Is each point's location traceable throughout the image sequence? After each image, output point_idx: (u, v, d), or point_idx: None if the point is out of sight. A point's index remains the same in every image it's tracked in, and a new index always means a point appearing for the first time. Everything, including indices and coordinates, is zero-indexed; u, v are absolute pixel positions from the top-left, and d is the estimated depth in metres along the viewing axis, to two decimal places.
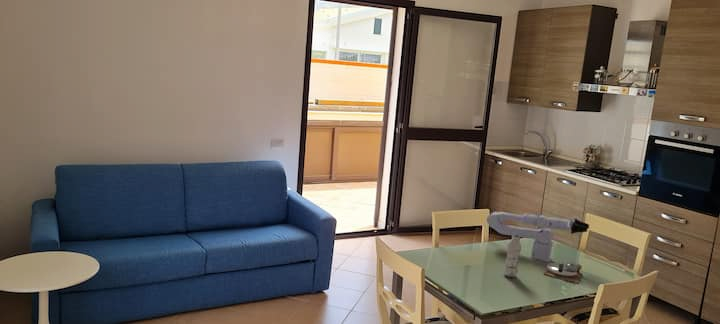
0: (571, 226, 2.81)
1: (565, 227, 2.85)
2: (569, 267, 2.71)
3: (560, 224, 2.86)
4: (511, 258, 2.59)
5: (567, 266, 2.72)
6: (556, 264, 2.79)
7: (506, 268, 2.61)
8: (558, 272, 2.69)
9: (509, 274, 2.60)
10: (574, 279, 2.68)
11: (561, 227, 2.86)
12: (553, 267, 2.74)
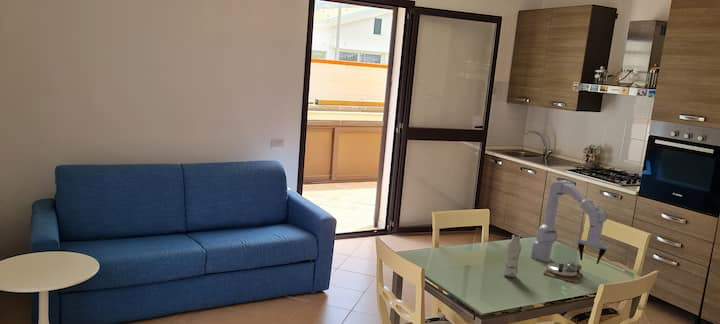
0: (580, 244, 2.69)
1: None
2: (569, 267, 2.71)
3: (588, 234, 2.67)
4: (511, 258, 2.59)
5: (567, 266, 2.72)
6: (556, 264, 2.79)
7: (506, 268, 2.61)
8: (558, 272, 2.69)
9: (509, 274, 2.60)
10: (574, 279, 2.68)
11: None
12: (553, 267, 2.74)
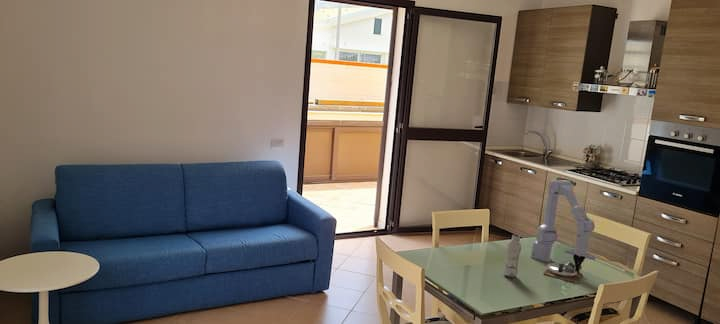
0: (575, 255, 2.70)
1: None
2: (567, 266, 2.71)
3: None
4: (511, 258, 2.59)
5: (565, 265, 2.72)
6: (556, 264, 2.79)
7: (506, 268, 2.61)
8: (558, 272, 2.69)
9: (509, 274, 2.60)
10: (574, 279, 2.68)
11: None
12: (553, 267, 2.74)
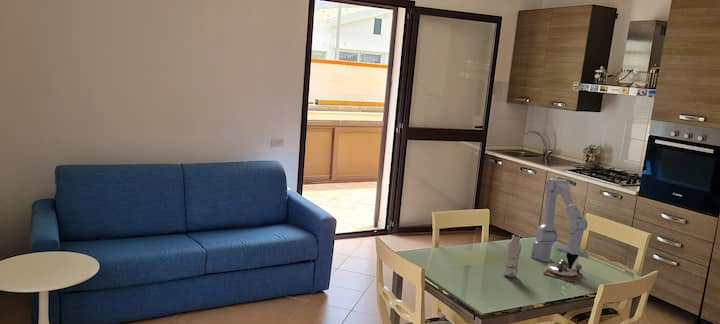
0: (568, 253, 2.72)
1: None
2: None
3: (568, 242, 2.72)
4: (511, 258, 2.59)
5: (558, 264, 2.74)
6: (556, 264, 2.79)
7: (506, 268, 2.61)
8: (558, 272, 2.69)
9: (509, 274, 2.60)
10: (574, 279, 2.68)
11: None
12: (553, 267, 2.74)
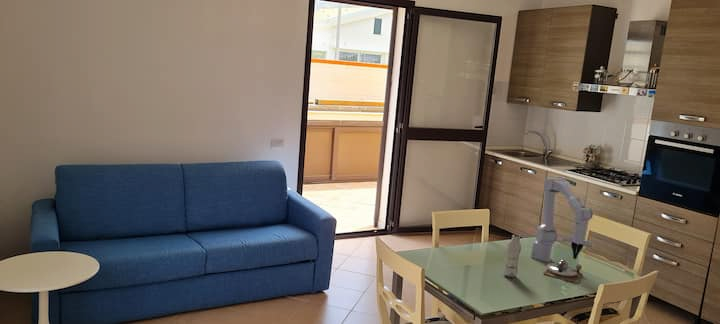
0: (573, 243, 2.70)
1: None
2: None
3: None
4: (511, 258, 2.59)
5: (558, 264, 2.74)
6: (556, 264, 2.79)
7: (506, 268, 2.61)
8: (558, 272, 2.69)
9: (509, 274, 2.60)
10: (574, 279, 2.68)
11: None
12: (553, 267, 2.74)
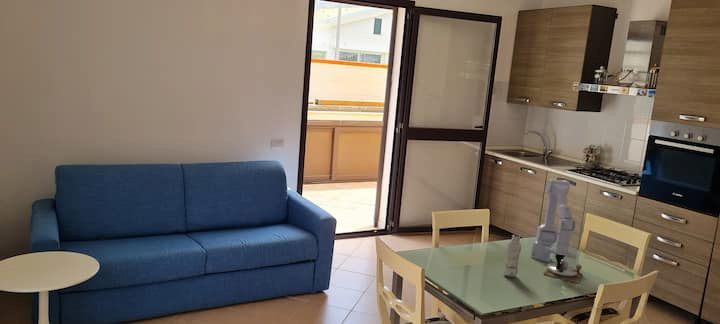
0: (557, 254, 2.68)
1: None
2: None
3: None
4: (511, 258, 2.59)
5: None
6: (556, 264, 2.79)
7: (506, 268, 2.61)
8: (559, 272, 2.69)
9: (509, 274, 2.60)
10: (574, 279, 2.68)
11: None
12: (553, 268, 2.74)
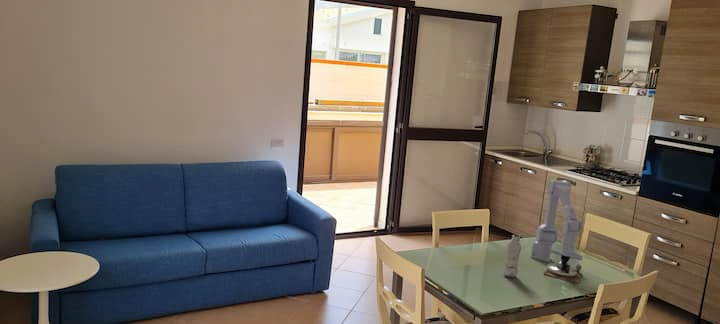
0: (563, 256, 2.68)
1: None
2: None
3: (562, 243, 2.68)
4: (511, 258, 2.59)
5: (560, 265, 2.73)
6: (553, 265, 2.78)
7: (506, 268, 2.61)
8: (566, 274, 2.68)
9: (509, 274, 2.60)
10: (574, 279, 2.68)
11: None
12: (557, 269, 2.72)
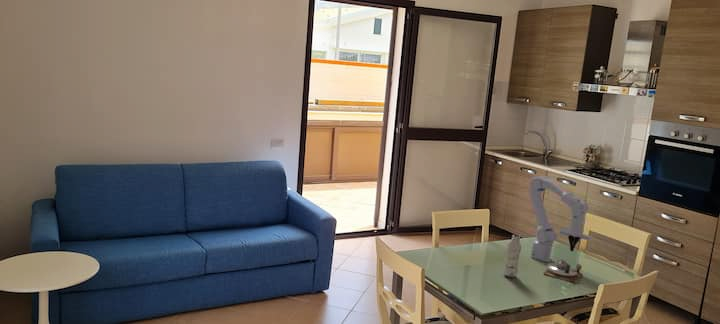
0: (570, 236, 2.80)
1: None
2: (563, 265, 2.72)
3: None
4: (511, 258, 2.59)
5: (560, 265, 2.73)
6: (553, 265, 2.78)
7: (506, 268, 2.61)
8: (566, 274, 2.68)
9: (509, 274, 2.60)
10: (574, 279, 2.68)
11: None
12: (557, 269, 2.72)
